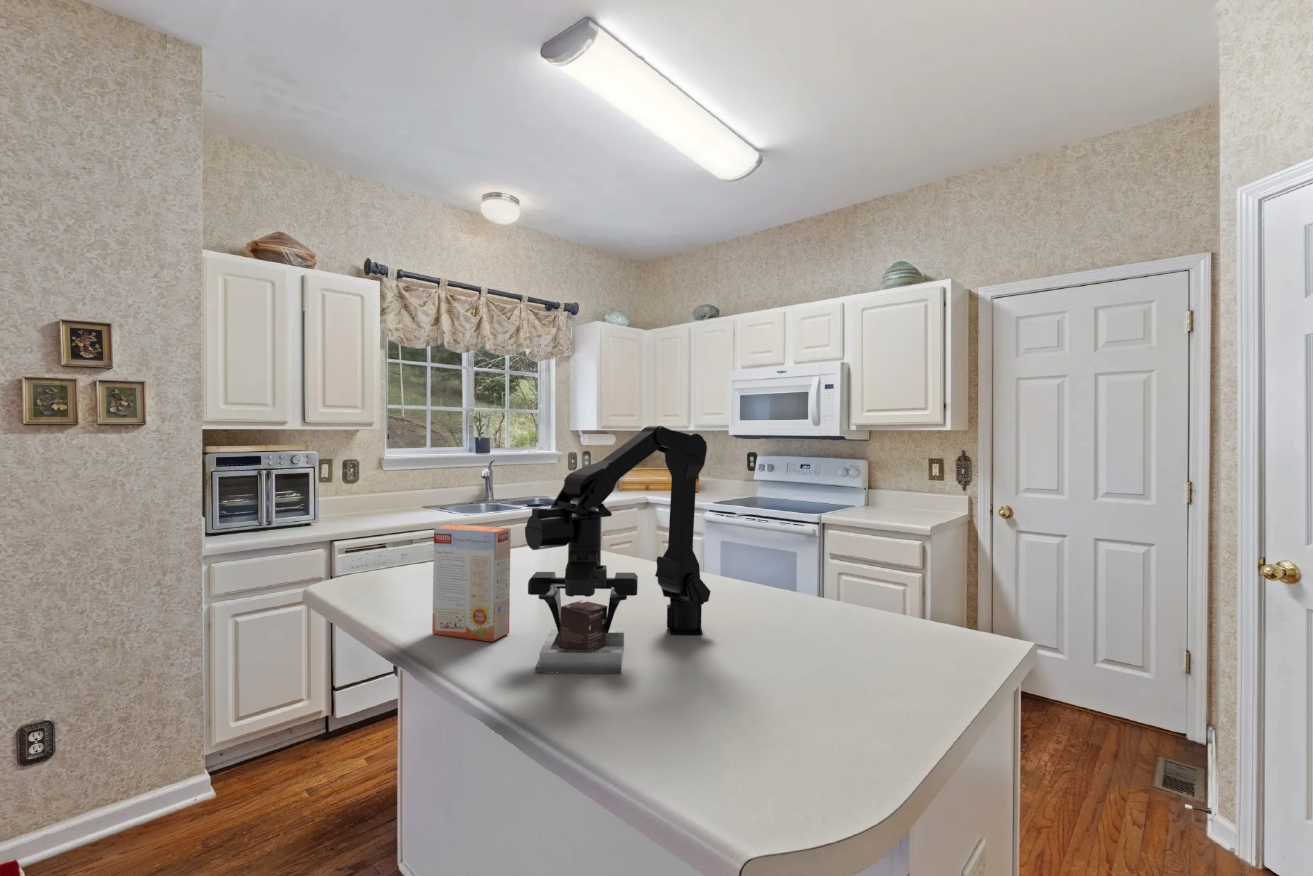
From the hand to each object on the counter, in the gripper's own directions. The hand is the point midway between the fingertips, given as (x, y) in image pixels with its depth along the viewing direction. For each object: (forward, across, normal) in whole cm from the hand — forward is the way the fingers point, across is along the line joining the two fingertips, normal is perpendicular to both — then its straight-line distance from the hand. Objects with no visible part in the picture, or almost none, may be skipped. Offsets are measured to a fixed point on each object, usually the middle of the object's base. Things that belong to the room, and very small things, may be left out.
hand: (583, 632), depth 105 cm
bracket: (+4, 0, 0) cm, 4 cm away
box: (+3, 0, 0) cm, 3 cm away
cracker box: (+5, -23, +12) cm, 26 cm away
